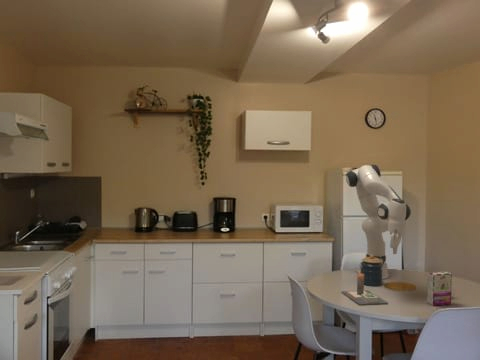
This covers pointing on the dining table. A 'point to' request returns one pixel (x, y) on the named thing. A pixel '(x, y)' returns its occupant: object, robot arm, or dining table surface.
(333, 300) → the dining table surface
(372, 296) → the button
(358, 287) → the marker
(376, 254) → the robot arm
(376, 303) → the board
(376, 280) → the canister
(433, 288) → the candy bar box
